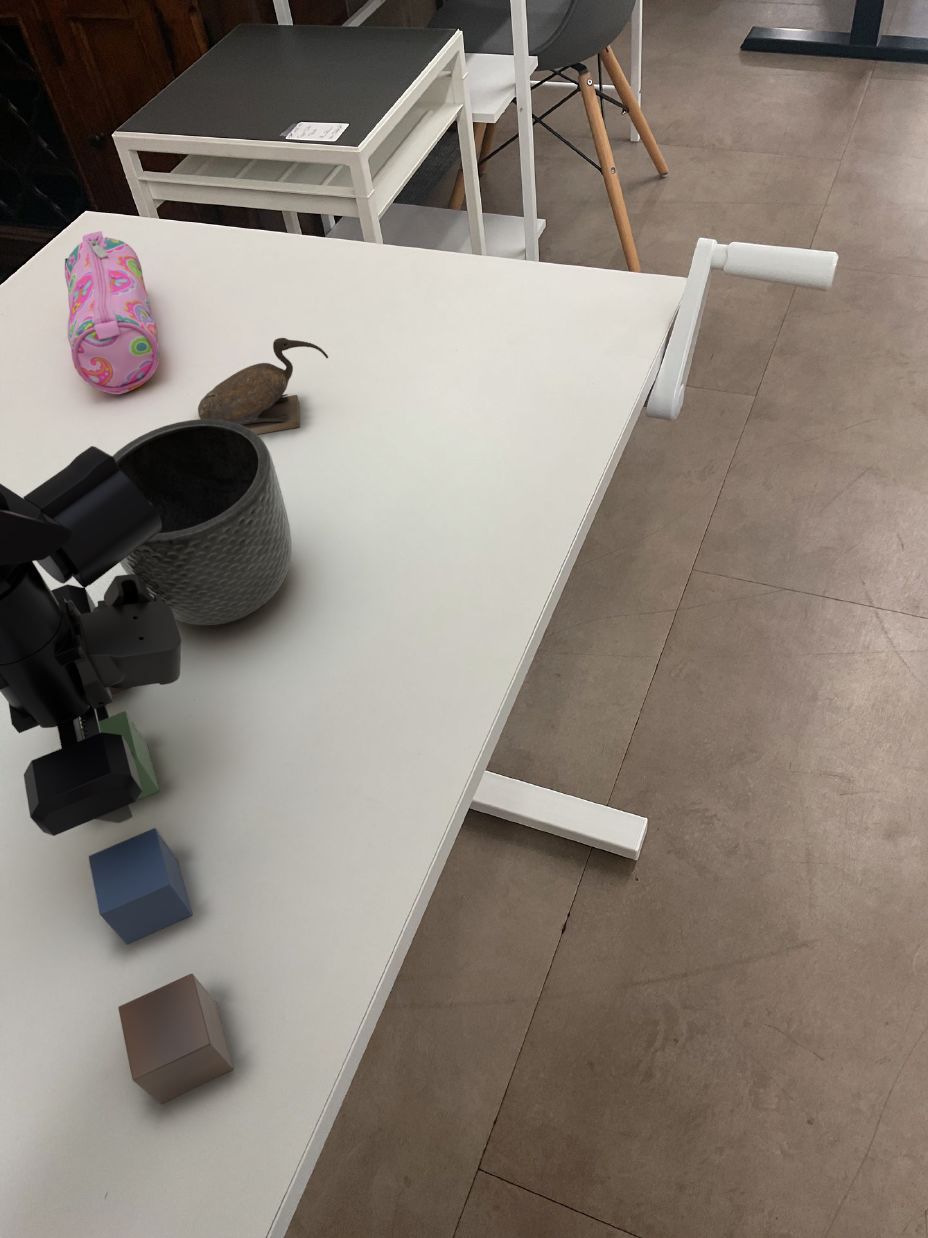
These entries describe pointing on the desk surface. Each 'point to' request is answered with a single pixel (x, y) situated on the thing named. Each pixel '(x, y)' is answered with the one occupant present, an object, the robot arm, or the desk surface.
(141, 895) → the blue block
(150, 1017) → the near walnut block
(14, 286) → the desk surface
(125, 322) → the pencil case
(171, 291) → the desk surface
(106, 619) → the robot arm
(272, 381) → the figurine
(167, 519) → the planter
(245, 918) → the desk surface
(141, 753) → the green block
